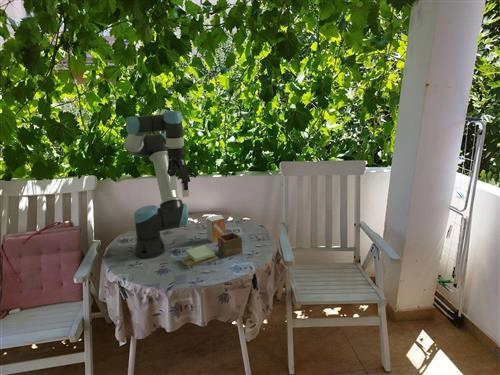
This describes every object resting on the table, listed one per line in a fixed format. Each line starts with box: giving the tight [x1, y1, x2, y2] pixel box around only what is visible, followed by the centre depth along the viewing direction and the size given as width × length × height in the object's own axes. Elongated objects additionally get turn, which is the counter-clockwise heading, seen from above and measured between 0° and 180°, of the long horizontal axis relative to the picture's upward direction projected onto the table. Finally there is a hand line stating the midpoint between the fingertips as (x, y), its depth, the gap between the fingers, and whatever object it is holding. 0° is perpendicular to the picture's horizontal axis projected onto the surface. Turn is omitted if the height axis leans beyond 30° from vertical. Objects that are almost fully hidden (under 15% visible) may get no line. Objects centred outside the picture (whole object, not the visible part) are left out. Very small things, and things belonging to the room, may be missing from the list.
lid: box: [185, 244, 216, 262], centre depth 186 cm, size 11×10×3 cm
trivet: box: [182, 254, 219, 269], centre depth 187 cm, size 10×14×2 cm
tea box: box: [217, 232, 243, 258], centre depth 191 cm, size 8×9×9 cm
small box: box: [205, 214, 227, 244], centre depth 207 cm, size 8×6×13 cm
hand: (179, 193), depth 176 cm, fingers open, 13 cm apart
